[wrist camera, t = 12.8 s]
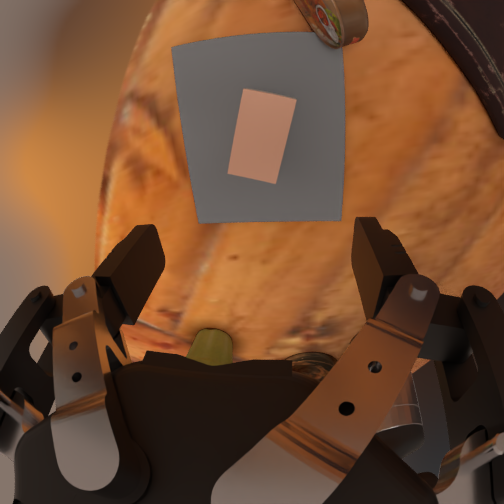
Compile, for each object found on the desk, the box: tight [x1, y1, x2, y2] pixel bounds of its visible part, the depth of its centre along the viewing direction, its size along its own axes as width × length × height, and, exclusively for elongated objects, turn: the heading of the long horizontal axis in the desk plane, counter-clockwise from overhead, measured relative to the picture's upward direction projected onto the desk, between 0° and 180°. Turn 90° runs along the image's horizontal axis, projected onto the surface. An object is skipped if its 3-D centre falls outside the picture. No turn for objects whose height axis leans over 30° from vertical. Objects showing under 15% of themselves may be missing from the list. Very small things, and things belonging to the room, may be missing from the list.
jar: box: [285, 352, 337, 381], centre depth 42 cm, size 12×12×15 cm
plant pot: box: [186, 329, 233, 366], centre depth 41 cm, size 9×9×9 cm
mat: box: [171, 32, 345, 224], centre depth 25 cm, size 20×16×1 cm
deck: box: [227, 88, 297, 184], centre depth 24 cm, size 4×8×3 cm, turn 169°
